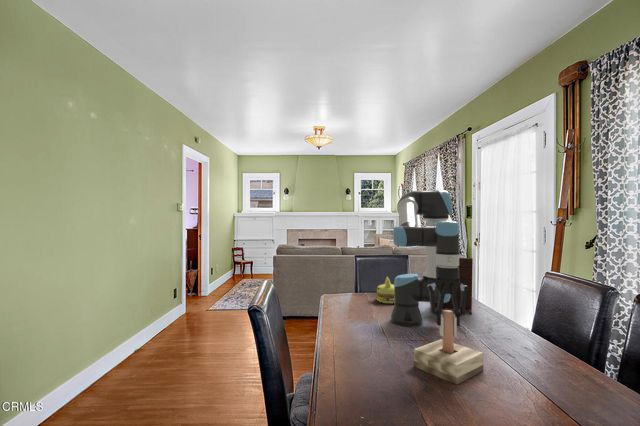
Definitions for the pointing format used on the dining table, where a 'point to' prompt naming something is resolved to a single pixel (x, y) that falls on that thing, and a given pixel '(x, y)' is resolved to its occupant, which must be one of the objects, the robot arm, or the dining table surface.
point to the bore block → (448, 361)
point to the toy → (385, 292)
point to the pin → (448, 331)
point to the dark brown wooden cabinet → (465, 279)
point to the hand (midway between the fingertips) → (448, 335)
